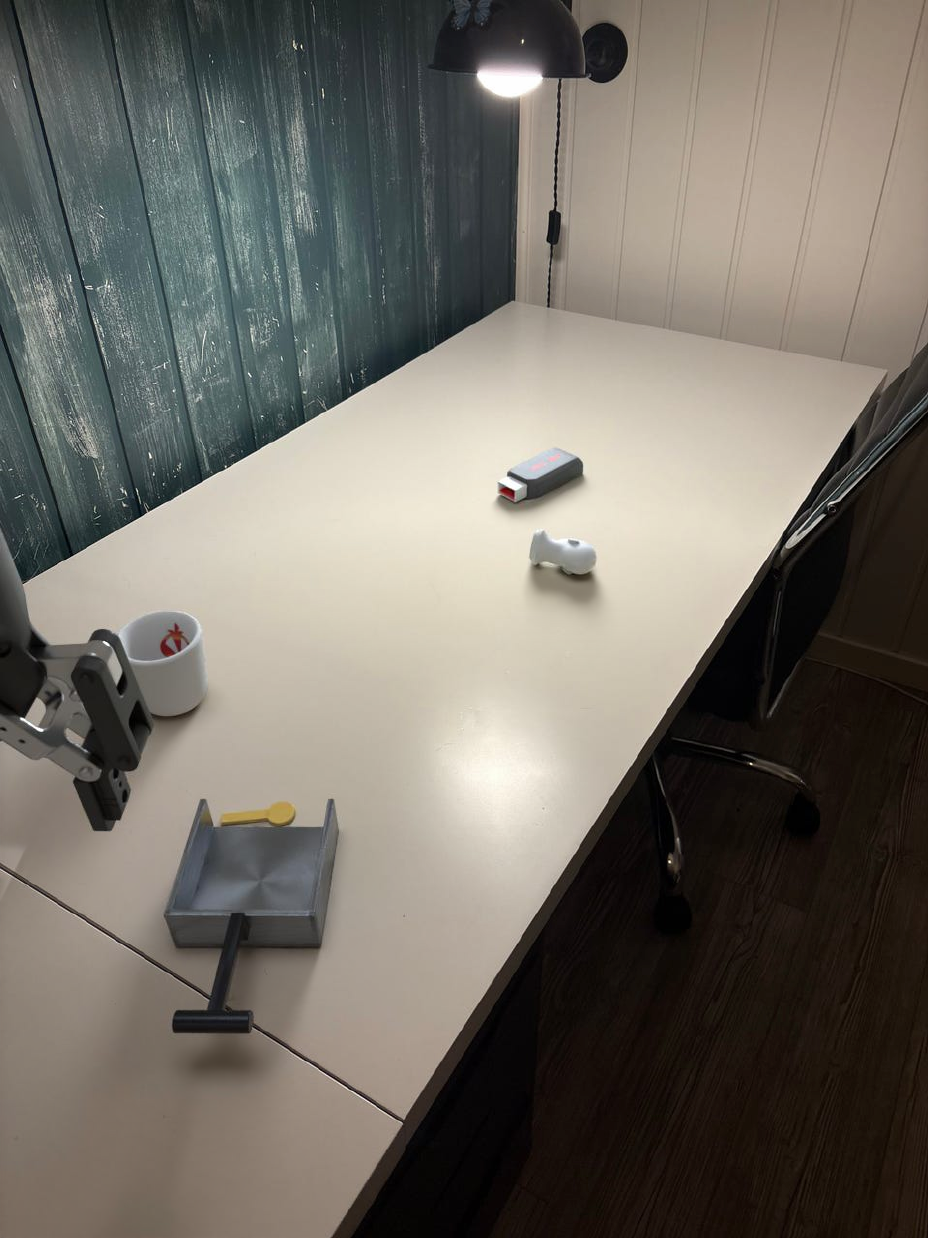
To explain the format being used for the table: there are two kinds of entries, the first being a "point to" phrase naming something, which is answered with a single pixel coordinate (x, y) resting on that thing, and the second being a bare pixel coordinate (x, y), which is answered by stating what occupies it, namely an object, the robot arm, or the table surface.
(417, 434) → the table surface
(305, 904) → the metal dustpan with handle
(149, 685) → the cup
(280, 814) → the yellow spoon
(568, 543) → the smooth white sculpture
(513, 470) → the usb drive
